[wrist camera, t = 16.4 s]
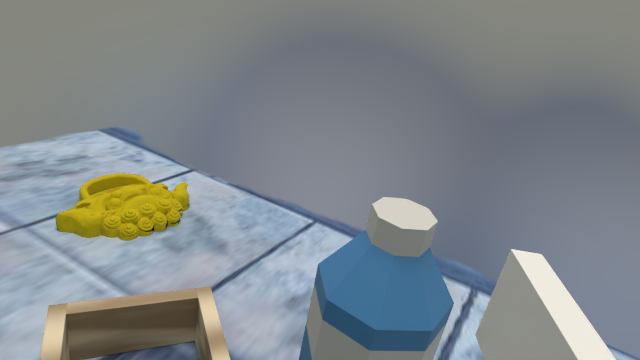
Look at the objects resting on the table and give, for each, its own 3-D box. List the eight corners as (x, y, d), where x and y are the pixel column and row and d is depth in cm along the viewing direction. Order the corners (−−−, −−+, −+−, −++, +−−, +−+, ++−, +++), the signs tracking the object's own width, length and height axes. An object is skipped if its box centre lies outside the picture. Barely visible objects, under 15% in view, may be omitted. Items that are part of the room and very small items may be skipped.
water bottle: (347, 401, 44) (410, 174, 34) (408, 491, 38) (512, 241, 27) (260, 438, 40) (303, 186, 29) (313, 550, 33) (395, 272, 22)
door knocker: (101, 183, 77) (100, 160, 75) (195, 196, 78) (196, 174, 76) (47, 234, 62) (44, 207, 60) (164, 250, 63) (164, 225, 61)
